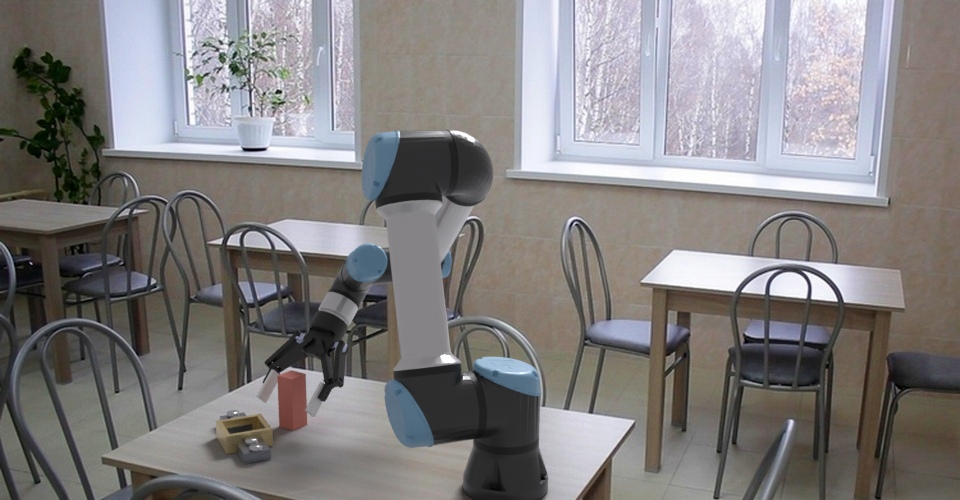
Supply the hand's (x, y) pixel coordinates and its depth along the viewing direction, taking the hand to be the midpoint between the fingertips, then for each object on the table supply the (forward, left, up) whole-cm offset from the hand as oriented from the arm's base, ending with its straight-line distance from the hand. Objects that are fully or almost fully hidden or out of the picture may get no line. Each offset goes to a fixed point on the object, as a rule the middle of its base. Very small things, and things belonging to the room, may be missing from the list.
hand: (284, 406), depth 199 cm
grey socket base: (-3, +9, -5) cm, 11 cm away
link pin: (+1, -2, -5) cm, 5 cm away
